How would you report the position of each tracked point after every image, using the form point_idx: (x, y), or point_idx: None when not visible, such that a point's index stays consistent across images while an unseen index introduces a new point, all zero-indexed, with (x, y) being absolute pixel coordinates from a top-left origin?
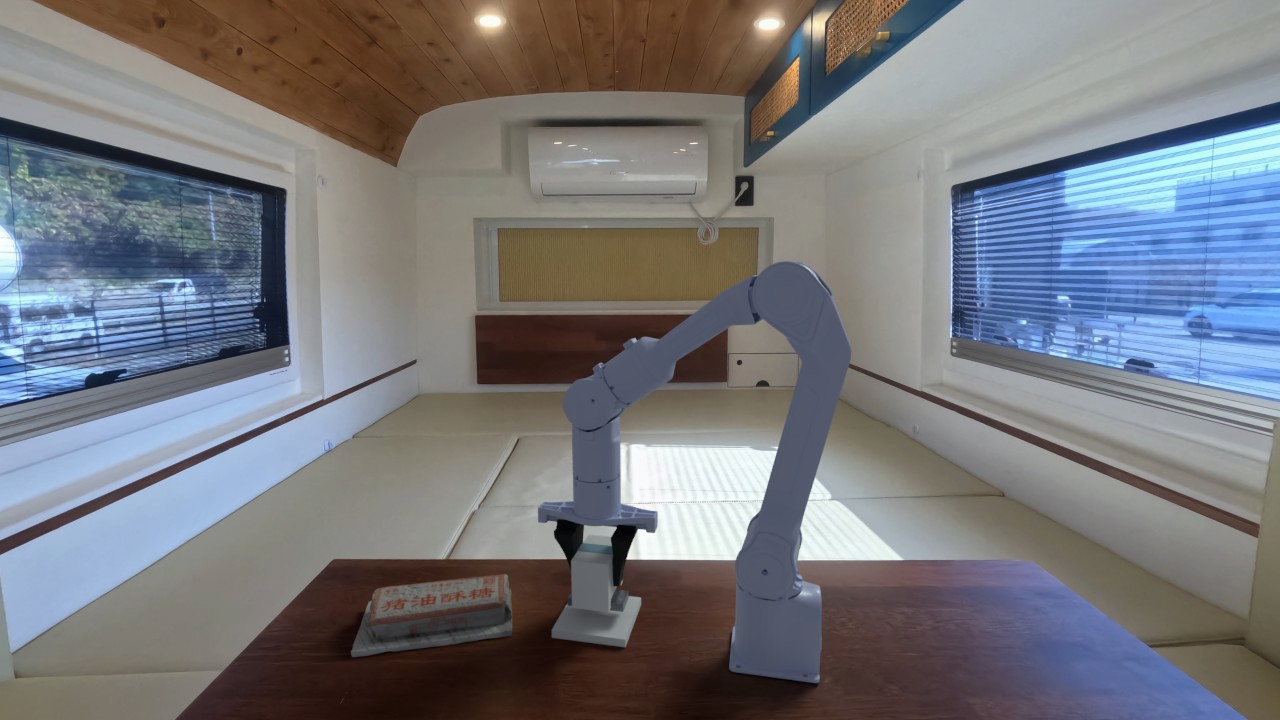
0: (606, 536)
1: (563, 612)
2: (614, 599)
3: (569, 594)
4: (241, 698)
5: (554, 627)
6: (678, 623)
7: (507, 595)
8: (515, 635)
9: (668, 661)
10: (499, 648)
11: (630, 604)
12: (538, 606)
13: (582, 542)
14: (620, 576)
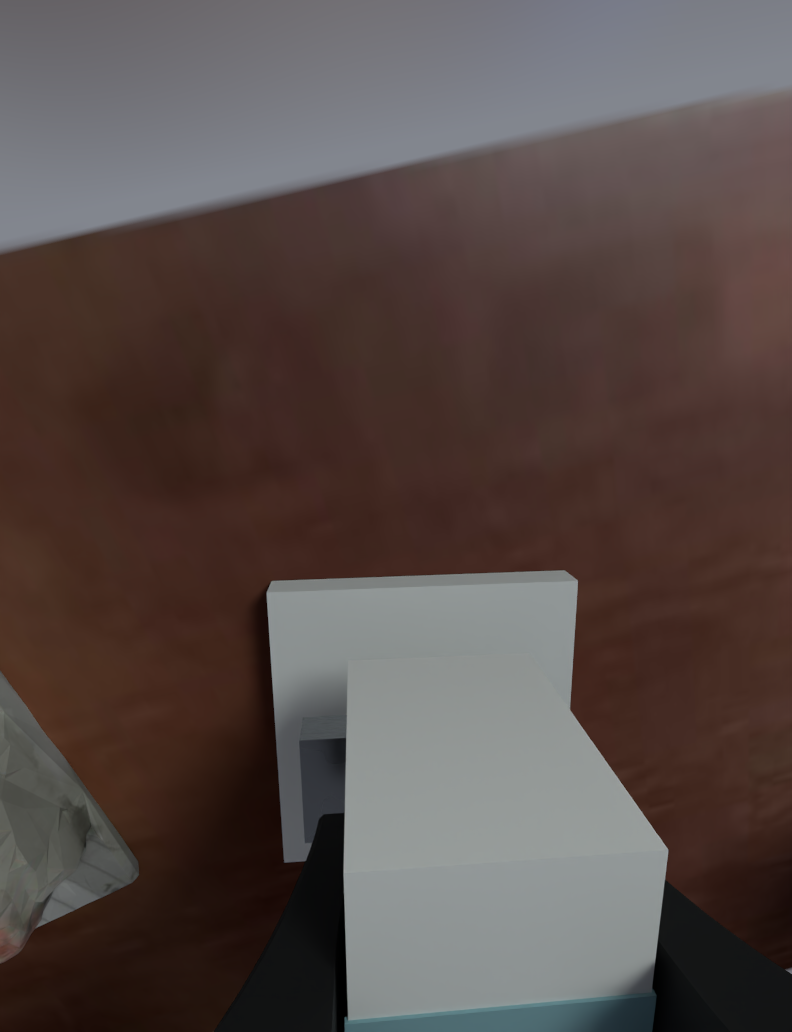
0: (520, 861)
1: (284, 760)
2: None
3: (304, 819)
4: None
5: (288, 847)
6: (715, 652)
7: (10, 890)
8: (152, 856)
9: (690, 839)
10: (136, 925)
11: (541, 640)
12: (145, 681)
13: (335, 987)
14: None
